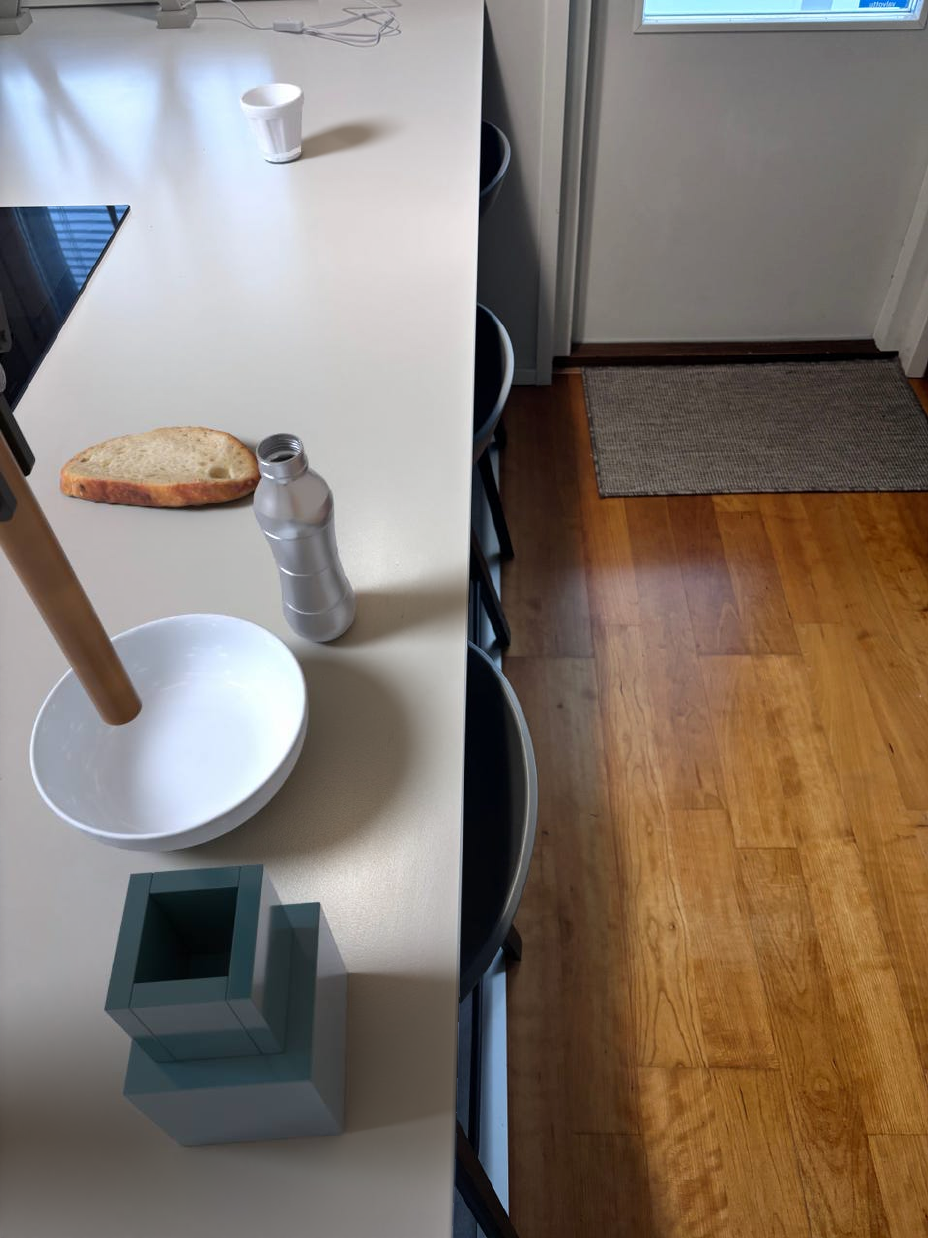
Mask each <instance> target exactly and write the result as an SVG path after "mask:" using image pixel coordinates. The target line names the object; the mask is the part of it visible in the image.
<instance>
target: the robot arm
mask: <svg viewBox="0 0 928 1238" xmlns="http://www.w3.org/2000/svg"><path fill="white" fill-rule="evenodd" d="M11 335H12V334H11V330H10V325H9V322H8V317H7V312H6V309H5V305H4V300H3V295H2V291H1V290H0V353H8V352H10V351H11V349H12V336H11ZM6 378H7V377H6V373H5V370H4V368H3V365H2V364H1V363H0V430H1V432H2V434H3V436H4V437H5V439H6V441H7V443H8V445H9V447H10V449H11V451H12V453H13V455H14V457H15V459H16V460H17V462H18V464H19V466H20V468H21V470H22V472H23V474H24V476H25V478H26V477H29V476H30V475H31V473H32V471H33V468H34V466H35V463H36V456H35V455H34V453H33V450H32V449H31V448H30V445H29V443H28V441H27V439H26V437H25V434H24V433H23V431H22V429H21V427H20V425H19V423H18V421H17V419H16V417H15V415H14V413H13V411H12V409H11V407H10V405H9V403H8V401H7V399H6V397H5V395H4V393H3V392H4V390H5V389H6V384H7V379H6ZM17 504H18V503H17V500H16V498H15V497H14V495H13V493H12V491H11V489H10V487H9V486H8V484H7V482H6V480H5V478H4V476H3V475H2V473H1V471H0V522H7V521H10V520H11V519H12V517H13V515H14V512H15V510H16V508H17Z"/></svg>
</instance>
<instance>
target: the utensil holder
mask: <svg viewBox="0 0 928 1238" xmlns="http://www.w3.org/2000/svg"><path fill="white" fill-rule="evenodd" d="M114 951H115V952H114V956H113V962H112V966H111V971H110V972H111V973H110V977H109V982H108V988H107V991H106V998H105V1003H104V1009H103V1011H104V1012H105V1013H106V1014H107V1015H108V1016H109V1017H110V1018H111V1019H112V1020H113V1021H114V1022H115V1023H116V1024H117V1025H118V1026H119V1027H120V1028H121V1029H122V1030H123V1031H124V1032H125V1034H126V1035H127V1036H128V1037H129V1038H131V1043H130V1047H129V1048H130V1049H129V1053H128V1054H129V1055H128V1061H127V1065H126V1071H125V1077H124V1084H123V1090H122V1096H123V1098H125V1099H126V1100H127V1101H128V1102H129V1103H131V1104H132V1105H133V1106H134V1107H135V1108H137V1109H138V1111H140V1112H141V1113H142V1114H143V1115H145V1116H146V1118H148V1119H149V1120H150V1121H151V1122H153V1123H154V1124H155V1125H156V1126H157V1127H158V1128H159V1129H161V1131H163V1133H165V1134H166V1135H167V1136H168V1137H170V1138H171V1139H172V1140H173V1141H174V1142H175V1143H177V1145H179V1146H180V1147H194V1146H207V1145H219V1144H233V1143H247V1142H258V1141H259V1142H260V1141H272V1140H285V1139H299V1138H311V1137H312V1138H313V1137H325V1136H339V1135H343V1134H344V1123H345V1121H344V1119H345V1091H346V1090H345V1087H346V1086H345V1085H346V1051H347V1050H346V1049H347V1015H348V1014H347V1013H348V1012H347V1011H348V977H349V976H348V975H349V973H348V970H347V967H346V965H345V962H344V960H343V957H342V955H341V953H340V949H339V947H338V945H337V943H336V940H335V937H334V935H333V932H332V930H331V927H330V924H329V922H328V919H327V917H326V914H325V912H324V910H323V906H322V904H321V902H320V901H313V902H300V903H298V902H297V903H288V904H287V903H286V904H283V903H282V901H281V898H280V896H279V895H278V892H277V890H276V887H275V886H274V884H273V881H272V879H271V878H270V875H269V873H268V871H267V869H266V866H265V864H264V863H253V864H252V863H251V864H241V865H240V864H239V865H229V866H228V865H227V866H216V867H213V866H212V867H204V868H190V869H179V870H178V869H175V870H165V871H163V870H161V871H153V872H137V873H130V875H129V879H128V885H127V890H126V894H125V900H124V905H123V909H122V915H121V920H120V926H119V931H118V936H117V941H116V948H115V950H114Z"/></svg>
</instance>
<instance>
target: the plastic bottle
mask: <svg viewBox="0 0 928 1238" xmlns="http://www.w3.org/2000/svg"><path fill="white" fill-rule="evenodd" d="M255 455H256V457H257V460H258V467H259V471H260V474H261V476H262V478H261V480H260V482H259V484H258V486H257V488H256V490H255V491H254V494H253V505H252V509H253V514H254V517H255V519H256V521H257V523H258V525H259V527H260V530H261V531H262V533H263V535H264V537H265V540H266V541H267V543H268V545H269V547H270V550H271V553H272V556H273V558H274V560H275V564H276V567H277V570H278V575H279V582H280V586H281V604H282V605H281V607H282V613H283V616H284V618H285V620H286V622H287V624H288V625H289V627H290V629H291V630H292V631H293V632H294V633H295V634H296V635H297V636H299V637H300V638H303V639H305V640H307V641H311V642H315V643H323V642H324V643H325V642H328V641H329V642H330V641H333V640H336V639H337V638H339V637H340V636H342V635H343V634H344V633H346V631H347V630H349V628H350V626H351V625H352V624H353V622H354V620H355V616H356V609H357V608H356V606H357V605H356V603H357V602H356V601H357V600H356V595H355V592H354V589H353V587H352V584H351V582H350V581H349V579H348V576H347V575H346V573H345V570H344V567H343V563H342V561H341V558H340V555H339V548H338V543H337V542H338V541H337V536H336V525H335V524H336V523H335V520H336V519H335V500H334V493H333V491H332V489H331V487H330V486H329V484H328V483H327V481H326V479H325V478H324V477H323V476H322V475H321V474H320V473H318V472H317V471H316V470H314V469H313V468H312V467H310V462H309V461H310V460H309V457H308V454H307V453H306V451H305V446H304V443H303V441H302V438H300V437H299V436H297V435H295V434H293V433H287V432H280V433H279V432H278V433H274V434H273V433H272V434H271V435H268V436H266V437H265V438H263V439H262V440H260V441H259V443H258V444H257V445H256V450H255Z"/></svg>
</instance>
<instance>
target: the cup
mask: <svg viewBox="0 0 928 1238" xmlns="http://www.w3.org/2000/svg"><path fill="white" fill-rule="evenodd" d="M238 100H239V106H240V108H241V110H242V112H243V113H244V115H245V117H246V120H247V122H248V124H249V127H250V129H251V131H252V134H253V135H254V138H255V141H256V143H257V145H258V147H259V150H260V149H261V150H260V151H264V152H267V153H270V154H279V153H285V152H290V151H291V150H293V149H295V148H298V147H299V146H300V145H301V146H302V130H303V128H302V127H303V123H302V122H303V107H304V103H305V102H304V101H305V95H304V91H303V90H302V88H301V87H300V86H298V85H295V84H294V83H293V84H292V83H284V82H276V83H267V84H262V85H258V86H255V87H251V88H250V89H248V90H246V91H245V92H243V93H242V94H241V96H240V98H239V99H238ZM302 152H303V151H301V152H298V153H296V154H294V155H293V156H290V157H285V158H277V159H274V158H270V157H266V156H264V155H263V154H262V156H263V158H264V160H265V161H266V162H268V163H270V164H275V165H278V164H287V163H291V162H294V161H296V160H297V159H299V158H301V155H302Z"/></svg>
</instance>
